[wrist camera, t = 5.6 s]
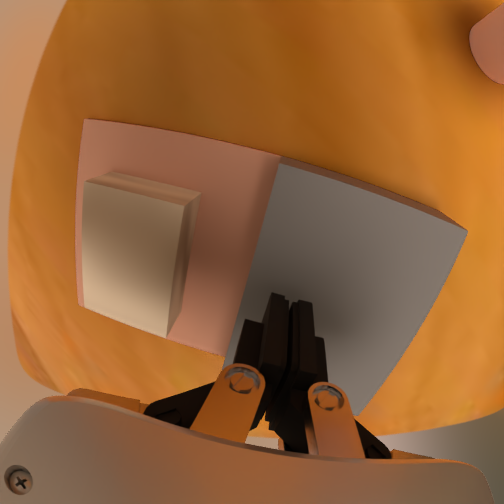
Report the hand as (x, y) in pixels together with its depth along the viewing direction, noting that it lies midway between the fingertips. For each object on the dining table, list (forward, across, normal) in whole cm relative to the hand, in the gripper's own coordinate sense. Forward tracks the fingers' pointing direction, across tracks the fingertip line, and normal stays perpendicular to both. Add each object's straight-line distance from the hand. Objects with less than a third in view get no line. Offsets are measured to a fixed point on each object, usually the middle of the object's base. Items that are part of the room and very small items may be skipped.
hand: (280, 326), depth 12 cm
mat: (+4, +7, 0) cm, 8 cm away
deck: (+4, -2, 0) cm, 5 cm away
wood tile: (+2, +7, 0) cm, 8 cm away
